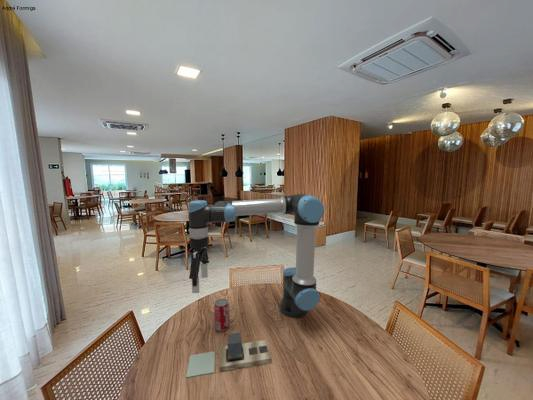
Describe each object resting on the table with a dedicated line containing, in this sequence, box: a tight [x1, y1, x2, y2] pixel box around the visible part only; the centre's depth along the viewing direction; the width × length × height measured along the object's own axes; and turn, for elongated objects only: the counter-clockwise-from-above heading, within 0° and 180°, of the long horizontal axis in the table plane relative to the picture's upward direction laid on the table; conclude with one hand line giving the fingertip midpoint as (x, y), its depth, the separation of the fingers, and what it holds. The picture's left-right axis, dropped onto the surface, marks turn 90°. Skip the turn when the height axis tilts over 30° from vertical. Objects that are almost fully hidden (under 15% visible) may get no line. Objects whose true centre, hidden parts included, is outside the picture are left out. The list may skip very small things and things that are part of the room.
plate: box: [219, 339, 272, 373], centre depth 88 cm, size 20×10×2 cm, turn 102°
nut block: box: [226, 332, 243, 363], centre depth 87 cm, size 6×6×9 cm
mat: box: [185, 351, 216, 379], centre depth 85 cm, size 10×10×1 cm
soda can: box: [213, 298, 231, 332], centre depth 106 cm, size 7×7×13 cm
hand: (200, 284), depth 94 cm, fingers open, 13 cm apart
